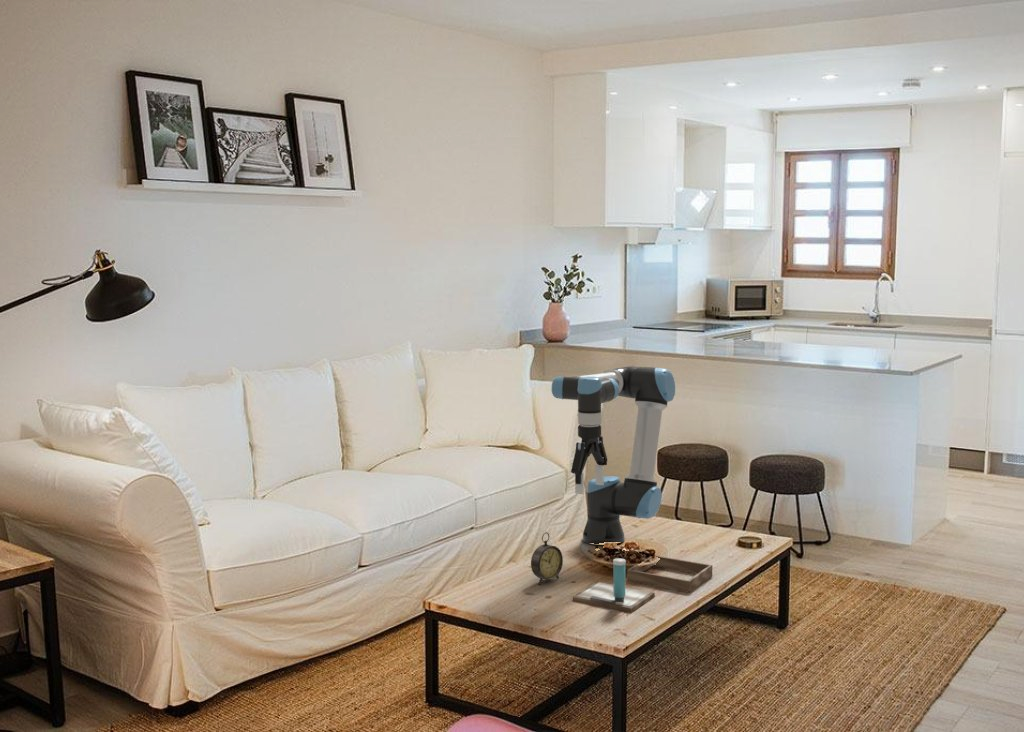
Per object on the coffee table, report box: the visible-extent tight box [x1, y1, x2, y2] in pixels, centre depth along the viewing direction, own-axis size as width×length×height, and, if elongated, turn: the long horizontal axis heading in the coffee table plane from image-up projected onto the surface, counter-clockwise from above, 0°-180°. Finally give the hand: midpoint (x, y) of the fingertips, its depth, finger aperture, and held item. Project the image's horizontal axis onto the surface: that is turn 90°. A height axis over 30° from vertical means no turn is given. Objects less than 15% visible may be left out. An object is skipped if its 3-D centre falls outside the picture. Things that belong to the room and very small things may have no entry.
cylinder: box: [612, 558, 627, 602], centre depth 313 cm, size 4×4×12 cm
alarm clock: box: [530, 531, 564, 586], centre depth 335 cm, size 11×5×16 cm, turn 133°
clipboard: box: [572, 581, 656, 613], centre depth 319 cm, size 16×20×2 cm
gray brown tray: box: [626, 555, 713, 593], centre depth 337 cm, size 19×22×4 cm
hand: (589, 489), depth 338 cm, fingers open, 13 cm apart
